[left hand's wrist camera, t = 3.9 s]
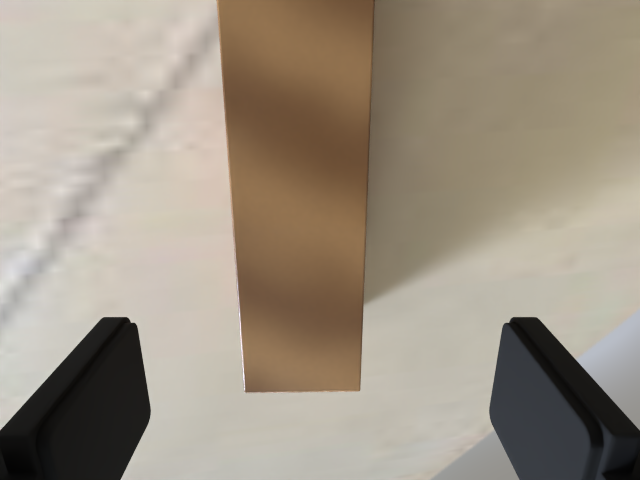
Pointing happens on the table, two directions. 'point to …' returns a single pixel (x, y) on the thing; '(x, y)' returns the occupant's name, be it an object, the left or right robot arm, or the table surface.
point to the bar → (298, 186)
